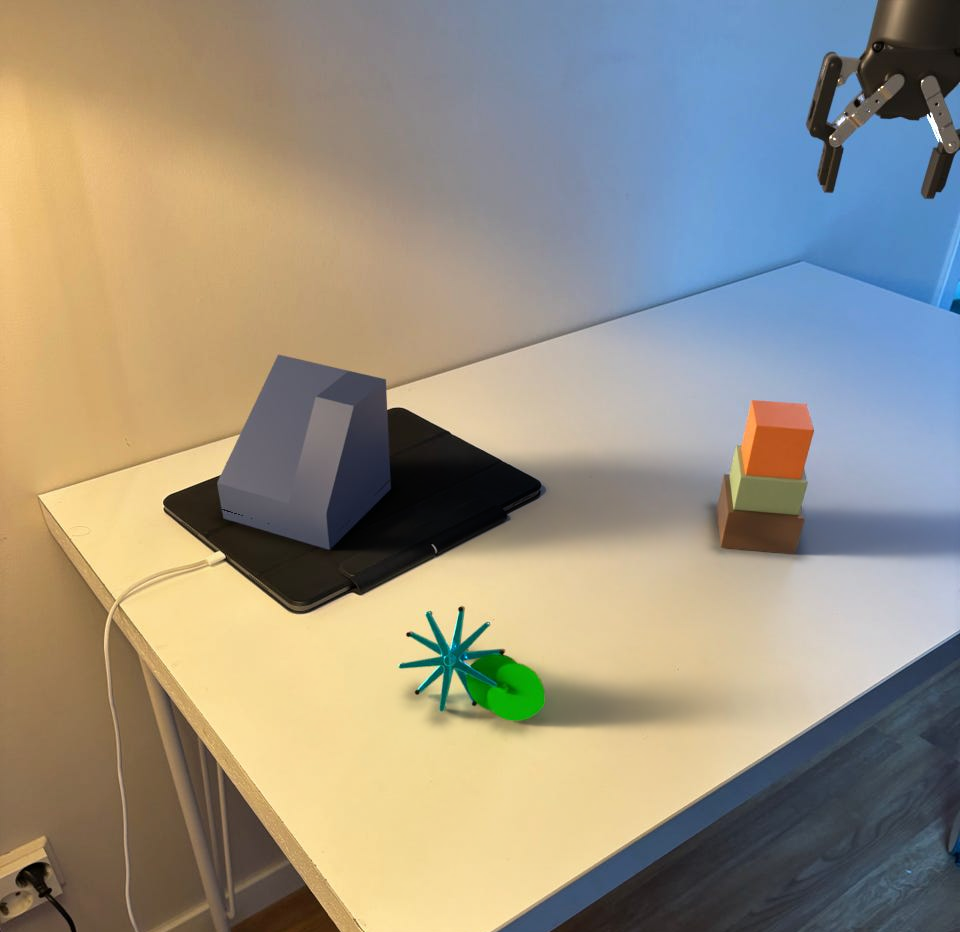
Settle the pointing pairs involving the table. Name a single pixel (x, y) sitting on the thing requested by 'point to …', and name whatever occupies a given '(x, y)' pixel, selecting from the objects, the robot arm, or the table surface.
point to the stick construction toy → (481, 673)
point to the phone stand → (309, 453)
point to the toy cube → (777, 439)
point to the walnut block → (756, 526)
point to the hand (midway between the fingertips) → (877, 193)
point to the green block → (765, 490)
